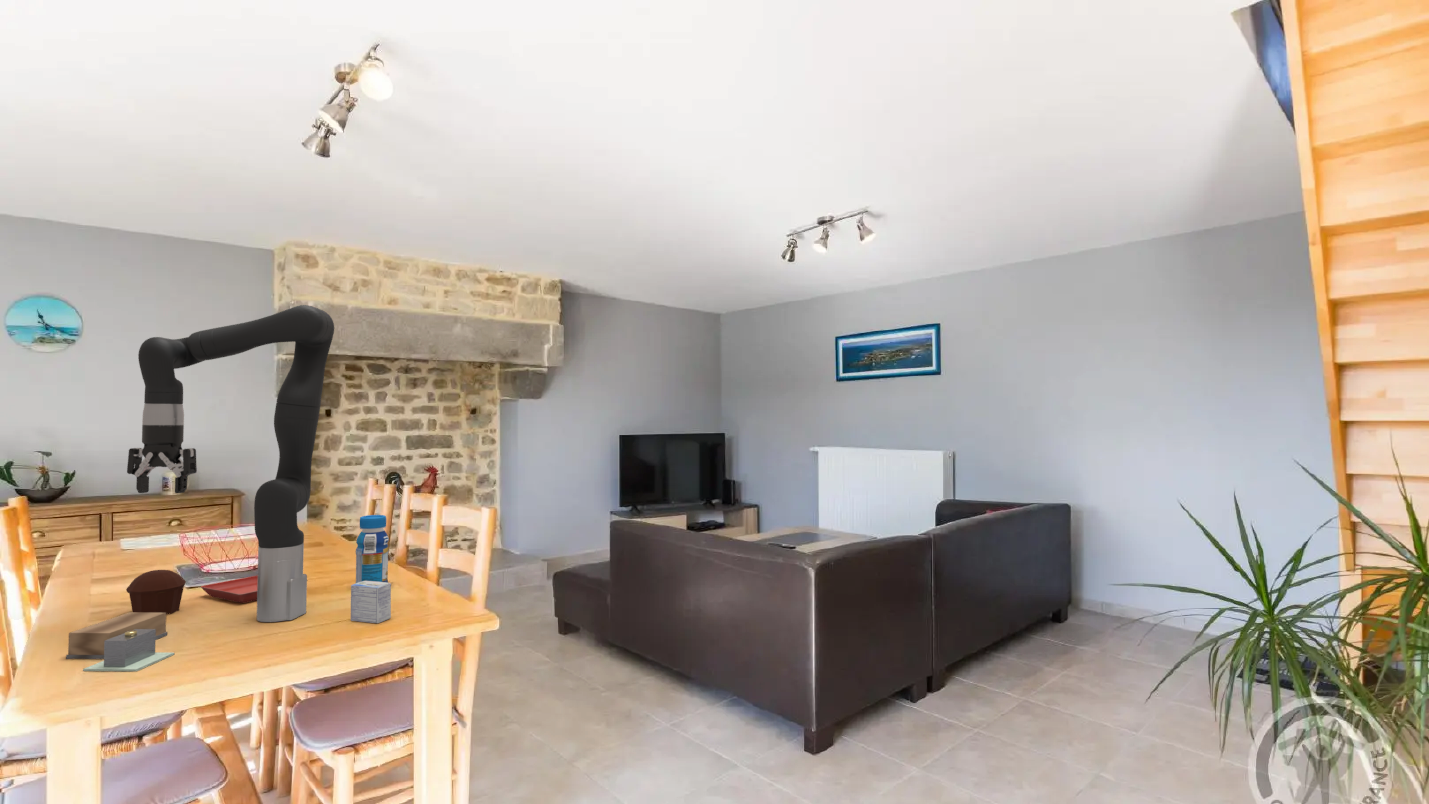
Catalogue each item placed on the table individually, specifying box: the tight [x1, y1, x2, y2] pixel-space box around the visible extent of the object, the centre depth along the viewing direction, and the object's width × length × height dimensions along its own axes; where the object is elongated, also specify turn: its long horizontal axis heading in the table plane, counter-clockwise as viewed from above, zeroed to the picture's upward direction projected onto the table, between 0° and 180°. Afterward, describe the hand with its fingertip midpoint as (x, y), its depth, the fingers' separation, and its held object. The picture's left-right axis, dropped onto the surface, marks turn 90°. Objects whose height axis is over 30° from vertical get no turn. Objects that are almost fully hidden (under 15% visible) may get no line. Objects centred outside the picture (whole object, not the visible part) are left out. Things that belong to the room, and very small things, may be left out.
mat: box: [82, 651, 175, 672], centre depth 131 cm, size 10×9×1 cm
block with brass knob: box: [103, 629, 157, 667], centre depth 132 cm, size 4×7×6 cm, turn 1°
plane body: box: [65, 611, 168, 660], centre depth 140 cm, size 8×14×5 cm, turn 0°
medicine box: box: [350, 581, 392, 624], centre depth 160 cm, size 8×4×9 cm, turn 74°
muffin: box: [125, 569, 187, 616], centre depth 164 cm, size 12×11×10 cm
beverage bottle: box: [355, 514, 390, 583], centre depth 190 cm, size 8×8×20 cm
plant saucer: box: [200, 574, 309, 604], centre depth 182 cm, size 18×18×3 cm
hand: (161, 492), depth 157 cm, fingers open, 8 cm apart
